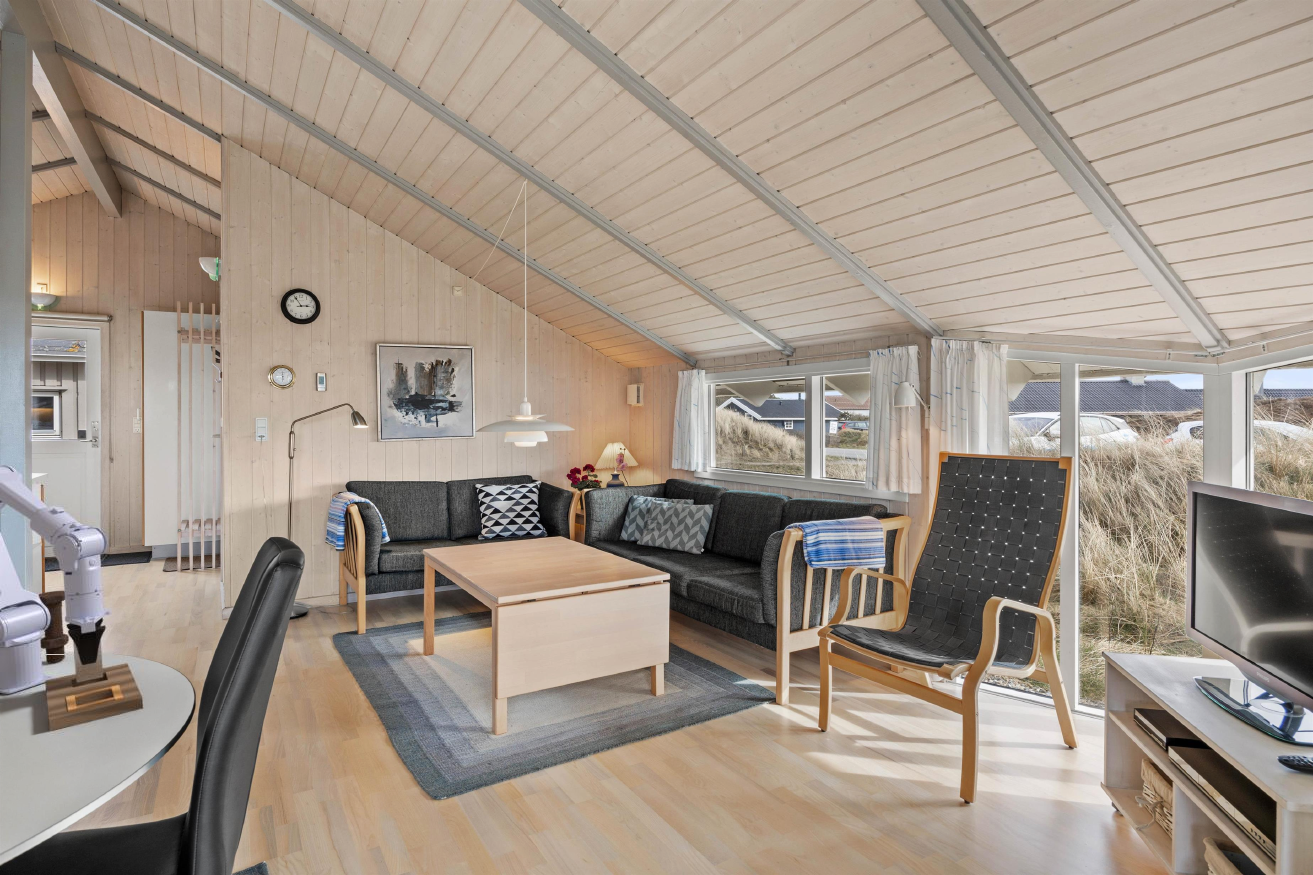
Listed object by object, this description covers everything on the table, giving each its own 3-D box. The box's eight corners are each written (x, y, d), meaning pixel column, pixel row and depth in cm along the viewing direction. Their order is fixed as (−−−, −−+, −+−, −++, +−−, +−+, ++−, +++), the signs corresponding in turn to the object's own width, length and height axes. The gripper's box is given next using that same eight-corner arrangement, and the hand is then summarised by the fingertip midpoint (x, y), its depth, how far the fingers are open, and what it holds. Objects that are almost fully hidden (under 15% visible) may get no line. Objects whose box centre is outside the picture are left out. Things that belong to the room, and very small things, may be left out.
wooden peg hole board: (45, 690, 141) (45, 679, 141) (127, 672, 149) (127, 661, 149) (50, 731, 123) (49, 718, 123) (143, 707, 132) (142, 696, 131)
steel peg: (75, 676, 141) (72, 636, 140) (101, 671, 143) (98, 631, 143) (76, 682, 138) (74, 641, 137) (103, 676, 140) (100, 636, 140)
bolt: (78, 657, 159) (73, 590, 158) (57, 665, 154) (52, 596, 153) (54, 657, 160) (49, 590, 159) (32, 665, 155) (27, 596, 154)
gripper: (113, 594, 137) (117, 664, 138) (106, 581, 148) (110, 646, 148) (65, 602, 132) (70, 674, 133) (61, 587, 143) (66, 654, 144)
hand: (88, 660), depth 140 cm, fingers closed on steel peg, 4 cm apart
